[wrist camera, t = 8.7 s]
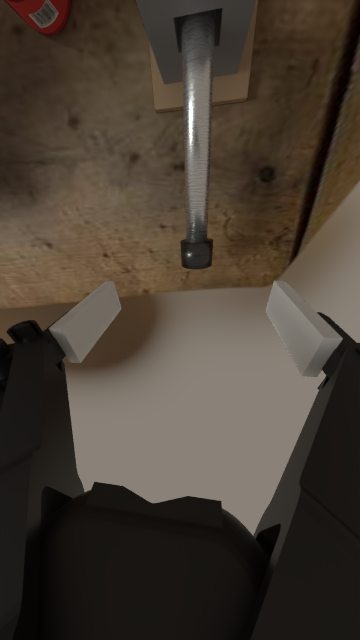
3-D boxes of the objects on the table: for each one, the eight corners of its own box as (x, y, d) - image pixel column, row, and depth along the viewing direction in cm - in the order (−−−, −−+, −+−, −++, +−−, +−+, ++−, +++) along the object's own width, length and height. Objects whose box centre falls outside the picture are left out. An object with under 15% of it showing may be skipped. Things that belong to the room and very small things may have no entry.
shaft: (211, 259, 29) (212, 269, 25) (183, 260, 29) (180, 269, 25) (239, -243, 11) (258, -496, 7) (165, -214, 11) (144, -433, 7)
